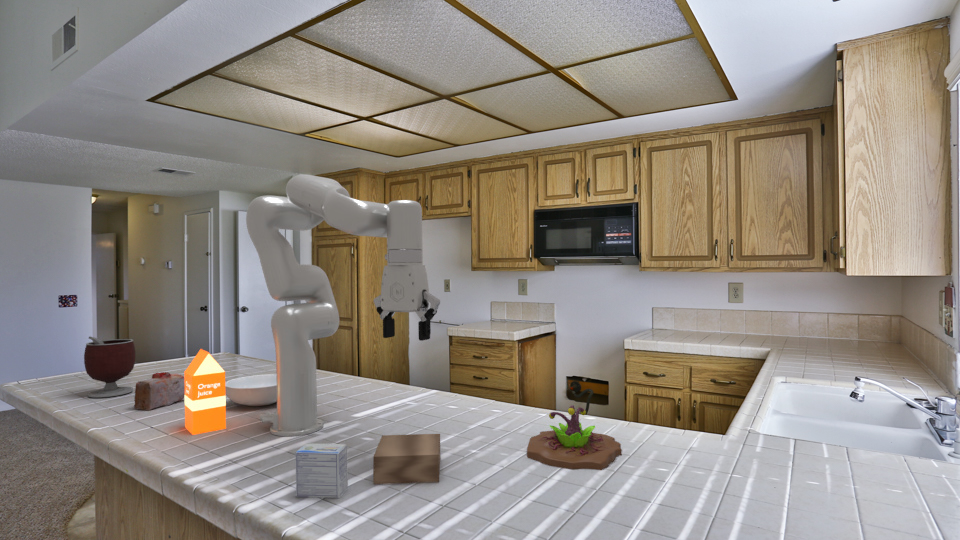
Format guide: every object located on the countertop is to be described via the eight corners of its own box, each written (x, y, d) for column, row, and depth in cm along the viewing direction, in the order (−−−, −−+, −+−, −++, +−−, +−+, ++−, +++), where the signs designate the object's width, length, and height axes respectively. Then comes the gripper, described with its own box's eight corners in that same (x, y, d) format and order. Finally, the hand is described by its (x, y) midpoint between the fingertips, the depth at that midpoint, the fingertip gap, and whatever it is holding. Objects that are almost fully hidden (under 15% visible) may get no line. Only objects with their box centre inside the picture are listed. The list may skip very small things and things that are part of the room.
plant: (514, 466, 103) (514, 411, 103) (539, 436, 122) (538, 389, 122) (615, 480, 96) (614, 421, 96) (625, 446, 114) (624, 396, 114)
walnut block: (373, 489, 93) (373, 456, 93) (382, 464, 105) (382, 435, 105) (439, 486, 94) (438, 454, 94) (440, 462, 106) (440, 433, 106)
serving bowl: (312, 399, 158) (312, 377, 158) (251, 416, 141) (250, 391, 141) (270, 391, 169) (270, 370, 169) (209, 406, 152) (208, 383, 152)
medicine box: (348, 491, 92) (347, 443, 92) (339, 502, 87) (338, 452, 87) (306, 489, 93) (306, 442, 93) (295, 501, 88) (294, 451, 88)
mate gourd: (106, 388, 177) (105, 330, 177) (145, 387, 176) (144, 330, 176) (69, 399, 161) (68, 336, 161) (111, 399, 161) (110, 336, 161)
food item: (170, 398, 162) (169, 367, 162) (190, 399, 160) (190, 368, 160) (131, 409, 149) (130, 376, 149) (153, 411, 147) (152, 377, 147)
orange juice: (192, 435, 124) (191, 354, 124) (184, 427, 130) (183, 350, 130) (226, 429, 129) (225, 350, 129) (217, 421, 136) (216, 346, 136)
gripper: (362, 259, 110) (364, 338, 110) (427, 257, 101) (428, 343, 101) (385, 259, 116) (387, 334, 116) (448, 257, 107) (449, 338, 107)
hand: (406, 338), depth 109 cm, fingers open, 9 cm apart
